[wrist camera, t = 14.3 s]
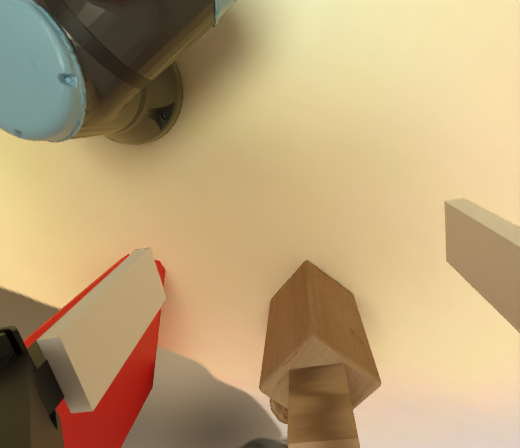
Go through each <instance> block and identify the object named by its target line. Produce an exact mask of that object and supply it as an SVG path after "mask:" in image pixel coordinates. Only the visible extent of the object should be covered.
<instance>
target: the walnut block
mask: <svg viewBox="0 0 520 448" xmlns="http://www.w3.org/2000/svg"><path fill="white" fill-rule="evenodd" d="M287 445H288V448H360V444H359V439H358V434H357V429H356V424H355V419H354V413H353V408H352V403H351V398H350V393H349V388H348V383H347V377H346V372H345V367H344V363H339V364H330V365H322V366H313V367H305V368H297V369H289V397H288V438H287Z"/></svg>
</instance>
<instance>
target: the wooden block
mask: <svg viewBox="0 0 520 448" xmlns="http://www.w3.org/2000/svg"><path fill="white" fill-rule="evenodd" d="M339 363H344V367H345V372H346V377H347V383H348V388H349V393H350V398H351V403H352V408H353V409H354V408H355V407H356V406H358V405H359V404H360V403H361V402H362V401H363V400H365V399H366V398H367V397H368V396H369V395H370V394H372V393H373V392H374V391H375V390H376V389H377V388H378V387H380V385H381V380H380V377H379V374H378V371H377V368H376V365H375V361H374V358H373V355H372V352H371V349H370V346H369V343H368V340H367V337H366V333H365V330H364V327H363V324H362V321H361V318H360V315H359V312H358V309H357V305H356V302H355V299H354V296H353V294H352V293H351V292H349V291H348V290H347V289H345V288H344V287H343V286H341V285H340V284H339V283H337V282H336V281H334V280H333V279H332V278H330V277H329V276H328V275H326V274H325V273H324V272H322V271H321V270H319V269H318V268H317V267H315V266H314V265H313V264H311V263H310V262H308V261H306V262H304V263H303V265H302V266H301V267H300V268H299V269H298V270H297V271H296V273H295V274H294V275H293V276H292V277H291V278H290V279H289V280H288V282H287V283H286V284H285V285H284V286H283V287H282V288H281V289H280V291H279V292H278V293H277V294H276V295H275V296H274V297H273V299H272V300H271V302H270V309H269V317H268V325H267V332H266V340H265V348H264V355H263V363H262V371H261V378H260V386H259V389H260V391H261V392H263V393H264V394H266V395H267V396H269V397H270V398H272V399H273V400H274V401H276V402H277V403H279V404H280V405H282V406H283V407H285V408H286V409H288V397H289V369H297V368H305V367H313V366H322V365H330V364H339Z"/></svg>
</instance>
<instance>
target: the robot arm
mask: <svg viewBox="0 0 520 448" xmlns="http://www.w3.org/2000/svg"><path fill="white" fill-rule="evenodd" d="M236 1H237V0H0V128H1V129H2V130H4V131H6V132H7V133H9V134H11V135H14V136H16V137H19V138H22V139H26V140H32V141H49V142H61V141H65V140H69V139H76V138H84V137H92V136H101V135H104V136H105V137H107V138H109V139H111V140H113V141H116V142H120V143H125V144H141V143H146V142H150V141H153V140H156V139H158V138H160V137H161V136H163V135H164V134H165V133H167V132H168V131H169V130H170V129H171V127H172V126H173V125H174V123H175V122H176V120H177V118H178V116H179V113H180V110H181V106H182V99H183V88H182V81H181V77H180V74H179V71H178V68H177V66H176V64H175V62H174V61H175V60H176V59H177V58H178V57H179V56H180V55H181V54H183V53H184V52H185V51H186V50H187V49H188V48H189V47H190V46H191V45H192V44H193V43H194V42H196V41H197V40H198V39H199V38H200V37H201V36H202V35H203V34H204V33H205V32H206V31H208V30H209V29H210V28H211V27H215V26H216V25H217V23H218V22H219V19H220V17H221V16H222V15H223V14H224V13H225V12H226V11H227V10H228V9H229V8H230V7H231V6H232V5H233V4H234V3H235V2H236ZM445 230H446V261H447V262H448V263H449V264H450V265H451V266H452V267H453V268H454V269H455V270H456V271H457V272H458V273H459V274H460V275H461V276H462V277H463V278H464V279H465V280H466V281H467V282H468V283H469V284H470V285H471V286H472V287H473V288H474V289H475V290H477V291H478V292H479V293H480V294H481V295H482V296H483V297H484V298H485V299H486V300H487V301H488V302H489V303H490V304H491V305H492V306H493V307H494V308H495V309H496V310H497V311H498V312H499V313H500V314H501V315H502V316H503V317H504V318H505V319H506V320H507V321H508V322H509V323H510V324H511V325H512V326H513V327H514V328H515V329H516V330H517V331H518V332H519V333H520V227H519V226H517V225H515V224H513V223H511V222H509V221H507V220H505V219H503V218H501V217H500V216H498V215H496V214H494V213H492V212H490V211H488V210H486V209H484V208H482V207H480V206H478V205H476V204H474V203H473V202H471V201H469V200H467V199H465V198H462V199H456V200H449V201H445ZM166 299H167V298H166V295H165V291H164V288H163V285H162V282H161V279H160V276H159V273H158V269H157V266H156V263H155V260H154V257H153V254H152V251H151V248H144V249H138V250H135V251H134V252H133V253H132V254H130V255H129V256H128V257H127V258H126V259H125V260H124V261H123V262H122V263H121V264H120V265H118V266H117V267H116V268H115V269H114V270H113V271H112V272H111V273H110V274H109V275H107V276H106V277H105V278H104V279H103V280H102V281H101V282H100V283H99V284H98V285H97V286H95V287H94V288H93V289H92V290H91V291H90V292H89V293H88V294H87V295H86V296H84V297H83V298H82V299H81V300H80V301H79V302H78V303H77V304H76V305H75V306H73V307H72V308H71V309H70V310H69V311H68V312H67V313H65V314H64V315H63V316H62V317H61V318H60V319H59V320H58V321H57V322H56V323H54V324H53V325H52V326H51V327H50V328H49V329H48V330H47V331H46V332H45V333H44V334H42V335H41V336H40V337H39V338H38V339H37V340H36V341H35V342H34V343H33V344H31V345H30V346H29V347H28V348H26V346H25V344H24V342H23V340H22V338H21V336H20V334H19V332H18V330H17V328H16V327H13V326H9V327H3V328H0V448H65V446H64V439H63V432H62V426H61V419H60V416H59V414H58V412H57V410H56V407H57V406H58V405H59V404H60V402H61V401H62V400H63V399H65V402H66V404H67V406H68V408H69V410H70V412H71V413H78V412H90V411H94V409H95V408H96V406H97V404H98V403H99V401H100V400H101V398H102V397H103V395H104V394H105V392H106V391H107V389H108V388H109V386H110V385H111V383H112V381H113V380H114V378H115V377H116V375H117V374H118V372H119V371H120V369H121V368H122V366H123V365H124V363H125V362H126V360H127V358H128V357H129V355H130V354H131V352H132V351H133V349H134V348H135V346H136V345H137V343H138V342H139V340H140V339H141V337H142V335H143V334H144V332H145V331H146V329H147V328H148V326H149V325H150V323H151V322H152V320H153V319H154V317H155V316H156V314H157V312H158V311H159V309H160V308H161V306H162V305H163V303H164V302H165V300H166Z"/></svg>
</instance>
